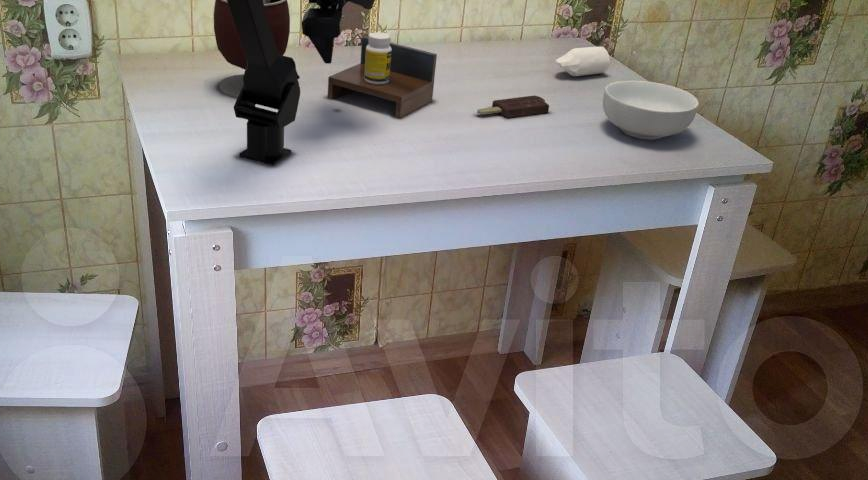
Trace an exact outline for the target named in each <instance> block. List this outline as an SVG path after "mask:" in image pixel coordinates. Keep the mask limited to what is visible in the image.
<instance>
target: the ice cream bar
mask: <svg viewBox="0 0 868 480" xmlns="http://www.w3.org/2000/svg"><path fill="white" fill-rule="evenodd" d="M549 109H550V104H548V103H547V102H546V100H545V98H543V97H541V96H539V95H526V96H518V97H511V98H504V99H502V98H501V99H494V100H493V101H492V103H491V107H483V108H478V109H477V110H476V111H477V112H476V113H477V114H479V115H491V114H498V113H499V114H500V115H502V116H504V117H505V118H506V119H511V118H521V117H526V116H527V117H528V116H534V115H541V114H547V113H549Z"/></svg>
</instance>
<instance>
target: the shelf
mask: <svg viewBox="0 0 868 480" xmlns="http://www.w3.org/2000/svg"><path fill="white" fill-rule="evenodd" d="M368 39H369V36H366V35H364V36H361V46H360V63H357V64H355V65H353V66H350V67H348V68H346V69H343V70H341V71H338V72H336V73H333V74H332V75H330V76H328V80H327V99H332V100H333V99H335V98H337V97H339V96H341V95H343V94H346V93H348V92H351V91H355V92H358V93H362V94H367V95H370V96H373V97H377V98H379V99H384V100H387V101H392V102H395V115H394V117H395V118H397V119H401V118H403V117H405V116H407V115H409V114H411V113H412V112H414V111H416V110H419V109H420V108H422V107H424V106H426V105H428V104H430V103H432V102H433V98H434V97H433V96H434V88H435V87H434V85H435V76H436V67H437V66H436V65H437V57H438V55H437V53H435V52H430V51H427V50H423V49H418V48H414V47H410V46H406V45H402V44H399V43H395V42H390V45H389V46H390V47H391V49H392V52H391V65H390V79H389V82H388V83H386V84H370V83H368V82H366V81H365V80H364V74H365V57H366V47H367V45H368V44H369V43H368Z"/></svg>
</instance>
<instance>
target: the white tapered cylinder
mask: <svg viewBox="0 0 868 480" xmlns="http://www.w3.org/2000/svg"><path fill="white" fill-rule="evenodd" d="M555 62H556V64H557V65H558V66H559V68H561V69H563V70H564V71H565V72H566V73H568V74H569V76H572V77H583V76H591V75H599V74H604V73H605V72H606V71H608V70H609V68H610V65H611V57H610V54H609V52H608V50H607V49H606V48H605V47H604V46H587V47H575V48H572V49H570V50H569V51H567V52H566V53H564V54H563V55H562V56H560V57H558V58H556V59H555Z"/></svg>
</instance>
